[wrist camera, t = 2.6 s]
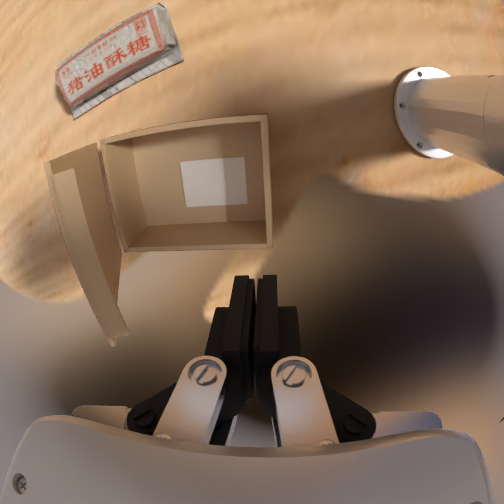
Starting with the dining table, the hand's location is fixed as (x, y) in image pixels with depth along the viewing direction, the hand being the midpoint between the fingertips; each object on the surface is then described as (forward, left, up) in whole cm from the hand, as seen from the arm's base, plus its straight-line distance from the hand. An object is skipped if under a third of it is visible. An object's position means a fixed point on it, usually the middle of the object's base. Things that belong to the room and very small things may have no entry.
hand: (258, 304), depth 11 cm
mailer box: (+9, 0, -25) cm, 26 cm away
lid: (+13, 0, -10) cm, 16 cm away
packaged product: (+19, -18, -25) cm, 36 cm away
